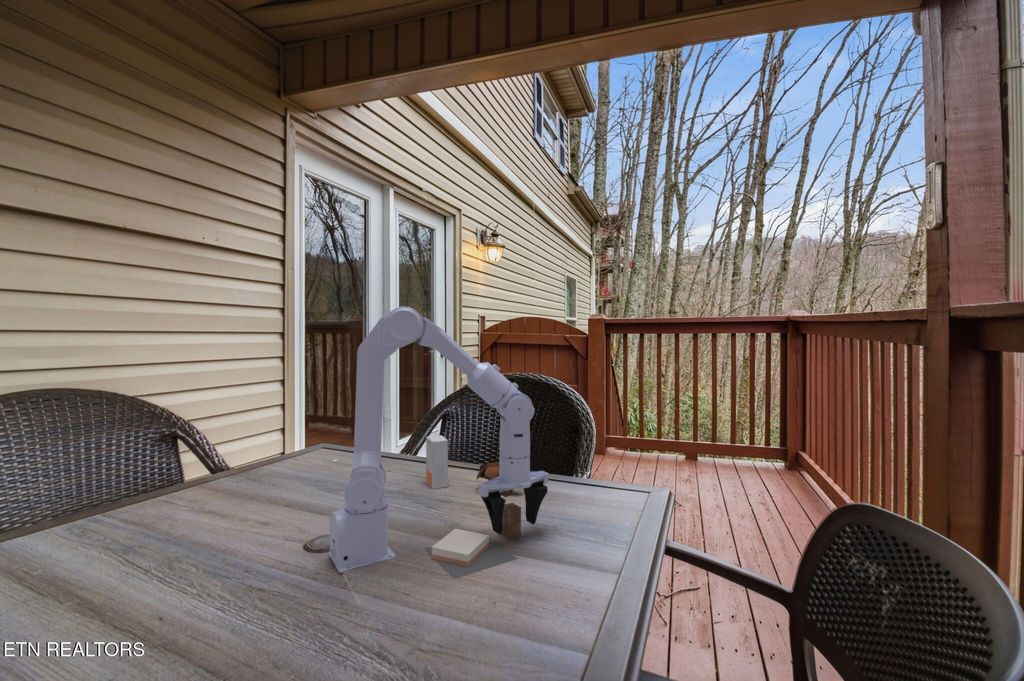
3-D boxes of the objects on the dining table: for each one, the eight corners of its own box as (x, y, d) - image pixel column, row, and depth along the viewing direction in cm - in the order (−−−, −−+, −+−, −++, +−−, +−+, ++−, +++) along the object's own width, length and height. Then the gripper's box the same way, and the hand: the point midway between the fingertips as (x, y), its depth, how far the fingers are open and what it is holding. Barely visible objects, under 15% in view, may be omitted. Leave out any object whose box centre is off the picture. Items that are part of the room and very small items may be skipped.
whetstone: (431, 558, 80) (468, 566, 77) (431, 547, 80) (468, 554, 77) (455, 539, 88) (489, 546, 85) (455, 528, 87) (489, 535, 85)
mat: (454, 582, 74) (454, 578, 74) (424, 551, 84) (424, 548, 84) (517, 561, 80) (517, 558, 80) (482, 535, 90) (482, 532, 90)
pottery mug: (470, 499, 111) (469, 464, 115) (487, 504, 119) (486, 471, 123) (517, 491, 108) (515, 456, 112) (532, 497, 115) (529, 464, 119)
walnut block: (507, 542, 88) (507, 510, 87) (499, 536, 90) (499, 505, 90) (520, 538, 89) (521, 507, 89) (512, 533, 92) (512, 502, 92)
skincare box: (425, 482, 122) (425, 436, 121) (441, 480, 124) (441, 434, 123) (431, 489, 116) (431, 441, 116) (448, 487, 118) (448, 439, 118)
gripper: (492, 466, 81) (492, 544, 81) (558, 454, 89) (558, 525, 89) (472, 456, 87) (472, 529, 87) (536, 446, 95) (535, 513, 95)
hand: (514, 526), depth 88 cm, fingers open, 7 cm apart
